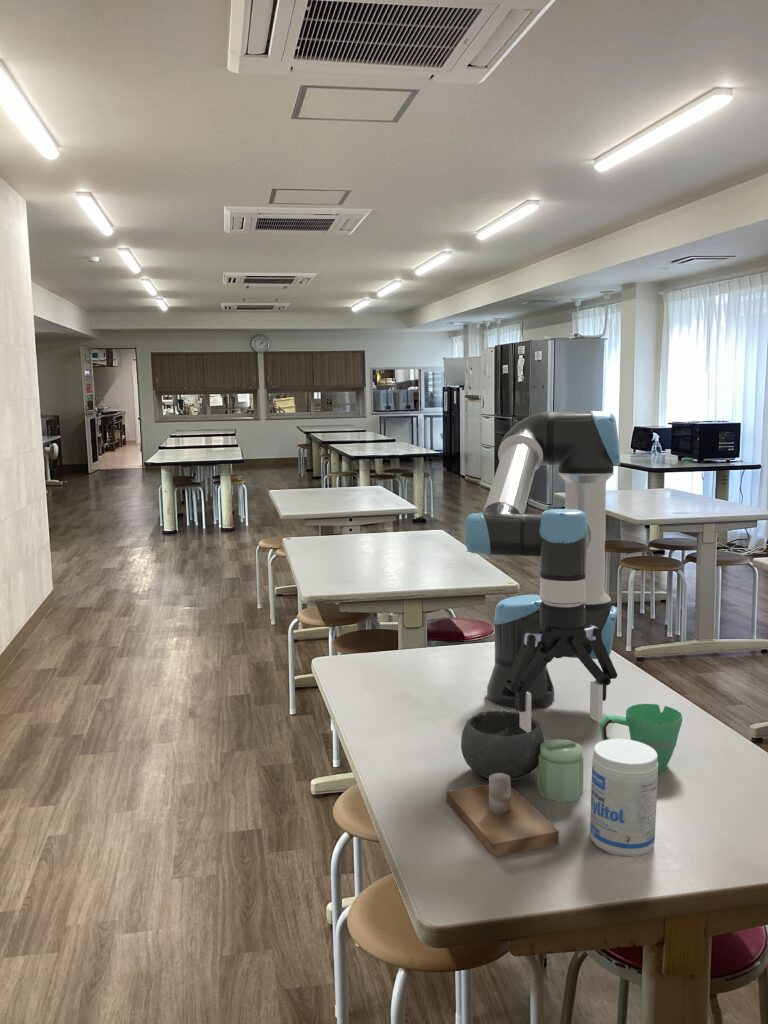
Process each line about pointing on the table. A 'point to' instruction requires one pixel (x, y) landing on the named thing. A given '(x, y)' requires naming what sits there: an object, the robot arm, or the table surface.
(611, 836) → the supplement tub
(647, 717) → the mug
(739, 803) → the table surface
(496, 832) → the stud block
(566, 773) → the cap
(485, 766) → the bowl
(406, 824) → the table surface
